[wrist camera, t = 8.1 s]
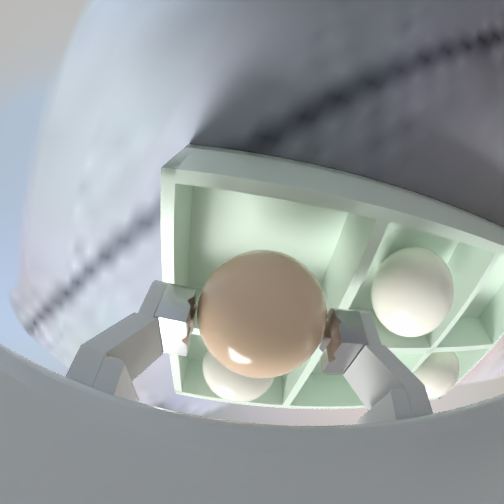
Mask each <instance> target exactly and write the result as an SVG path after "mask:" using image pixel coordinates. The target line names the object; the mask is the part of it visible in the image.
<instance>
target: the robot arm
mask: <svg viewBox="0 0 504 504" xmlns="http://www.w3.org/2000/svg"><path fill="white" fill-rule="evenodd" d="M196 300H197V288H192V287H187V286H183V285H178V284H173V283H167V282H162V281H158V280H155V281H154V282H153V283H152V284H151V286H150V288H149V291H148V293H147V295H146V297H145V299H144V301H143V303H142V305H141V308H140V310H139V312H138V313H132V314H131V315H129V316H127V317H126V318H124V319H123V320H121V321H119V322H118V323H116V324H114V325H113V326H111V327H110V328H108V329H106V330H105V331H103V332H102V333H100V334H98V335H97V336H95V337H94V338H92V339H90V340H89V341H87V342H86V343H84V344H82V345H81V346H80V348H79V350H78V352H77V354H76V356H75V358H74V360H73V362H72V364H71V366H70V369H69V371H68V373H67V375H66V377H65V376H62V375H60V374H58V373H56V372H53V371H51V370H49V369H47V368H45V367H43V366H40V365H38V364H36V363H34V362H32V361H30V360H28V359H27V358H24V357H23V356H21V355H19V354H17V353H15V352H13V351H11V350H10V349H8V348H7V347H5V346H3V345H1V344H0V504H504V394H501V395H498V396H496V397H493V398H490V399H487V400H484V401H481V402H478V403H474V404H471V405H467V406H464V407H460V408H456V409H452V410H448V411H444V412H439V413H435V414H433V412H432V408H431V405H430V402H429V398H428V395H427V391H426V388H425V385H424V384H423V383H422V382H421V381H420V380H419V379H418V378H417V377H416V376H415V375H414V374H413V373H412V372H411V371H410V370H409V369H408V368H407V367H406V366H405V365H404V364H403V363H402V362H401V361H400V360H399V359H398V358H397V357H396V356H395V355H394V354H393V353H392V352H391V351H390V350H389V349H388V348H387V347H386V346H384V345H382V344H381V341H380V338H379V335H378V332H377V329H376V326H375V323H374V320H373V317H372V314H371V313H370V312H369V311H361V310H357V311H356V310H349V309H339V308H331V309H330V310H329V312H328V314H327V319H328V320H327V324H326V328H325V332H324V335H323V338H322V340H321V342H320V344H319V349H320V350H321V351H322V352H323V354H322V355H321V357H320V361H321V368H322V373H333V374H343V376H344V377H345V379H346V380H347V381H348V383H349V384H350V386H351V387H352V389H353V390H354V391H355V393H356V394H357V396H358V397H359V398H360V400H361V401H362V403H363V404H364V406H365V407H366V408H367V410H368V412H367V413H365V414H364V415H363V416H362V417H361V418H360V419H359V420H358V421H357V423H358V424H355V425H340V426H339V425H338V426H288V425H269V424H268V425H267V424H256V423H245V422H236V421H229V420H220V419H214V418H208V417H202V416H196V415H191V414H186V413H181V412H176V411H172V410H167V409H163V408H159V407H155V406H151V405H147V404H143V403H139V402H138V400H139V398H138V396H137V393H136V391H135V389H134V386H133V384H132V381H133V380H134V379H135V378H136V377H137V376H138V375H139V374H141V373H142V372H143V371H144V370H145V369H146V368H147V367H148V366H150V365H151V364H152V363H153V362H154V361H155V360H156V359H157V358H158V357H160V356H161V355H162V354H163V352H165V353H170V354H176V355H181V356H187V354H188V350H189V346H190V342H191V333H192V332H193V330H194V326H195V321H196V314H197V305H196Z"/></svg>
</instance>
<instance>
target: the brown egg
mask: <svg viewBox="0 0 504 504" xmlns="http://www.w3.org/2000/svg"><path fill="white" fill-rule="evenodd" d="M197 322H198V328H199V332H200V335H201V338H202V340H203V342H204V344H205V346H206V348H207V349H208V351H209V352H210V353H211V355H212V356H213V357H214V358H215V359H216V360H217V361H218V362H219V363H220V364H222V365H223V366H224V367H226V368H227V369H229V370H231V371H233V372H235V373H237V374H240V375H243V376H246V377H251V378H272V377H277V376H281V375H284V374H287V373H289V372H291V371H293V370H295V369H296V368H298V367H300V366H301V365H302V364H304V363H305V362H306V361H307V360H308V359H309V358H310V357H311V356H312V355H313V353H314V352H315V351H316V349H317V348H318V346H319V344H320V342H321V340H322V338H323V335H324V332H325V328H326V324H327V304H326V299H325V295H324V292H323V290H322V287H321V285H320V283H319V282H318V280H317V278H316V277H315V276H314V275H313V273H312V272H311V271H310V270H309V269H308V268H307V267H306V266H305V265H304V264H303V263H301V262H300V261H298V260H297V259H295V258H293V257H291V256H289V255H287V254H284V253H281V252H277V251H272V250H253V251H247V252H243V253H240V254H238V255H236V256H233V257H231V258H230V259H228V260H226V261H225V262H223V263H222V264H221V265H220V266H219V267H218V268H216V269H215V270H214V271H213V273H212V274H211V275H210V276H209V278H208V279H207V281H206V283H205V284H204V286H203V289H202V291H201V294H200V297H199V301H198V307H197Z"/></svg>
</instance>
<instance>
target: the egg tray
mask: <svg viewBox="0 0 504 504" xmlns="http://www.w3.org/2000/svg"><path fill="white" fill-rule="evenodd" d="M407 247H422V248H425V249H429V250H431V251H433V252H434V253H436V254H437V255H438V256H440V257H441V258H442V259H443V260H444V262H445V263H446V264H447V266H448V267H449V269H450V271H451V274H452V277H453V282H454V299H453V303H452V306H451V309H450V311H449V313H448V315H447V317H446V318H445V320H444V321H443V322H442V323H441V324H440V325H439V326H438V327H437V328H436V329H434V330H433V331H431V332H430V333H427V334H425V335H422V336H418V337H404V336H400V335H397V334H395V333H393V332H391V331H389V330H388V329H387V328H386V327H385V326H384V325H383V324H382V323H381V322H380V321H379V319H378V318H377V316H376V314H375V312H374V309H373V306H372V301H371V287H372V282H373V279H374V276H375V273H376V271H377V270H378V268H379V266H380V265H381V263H382V262H383V261H384V260H385V259H386V258H387V257H388V256H390V255H391V254H393V253H394V252H396V251H398V250H400V249H403V248H407ZM253 250H272V251H277V252H281V253H284V254H287V255H289V256H291V257H293V258H295V259H297V260H298V261H300V262H301V263H303V264H304V265H305V266H306V267H307V268H308V269H309V270H310V271H311V272H312V273H313V275H314V276H315V277H316V278H317V280H318V282H319V283H320V285H321V287H322V290H323V292H324V295H325V299H326V304H327V314H328V312H329V310H330V309H331V308H339V309H349V310H356V311H357V310H361V311H369V312H370V313H371V314H372V317H373V320H374V323H375V326H376V329H377V332H378V335H379V338H380V341H381V344H382V345H384V346H386V347H387V348H388V349H389V350H390V351H391V352H392V353H393V354H394V355H395V356H396V357H397V358H398V359H399V360H400V361H401V362H402V363H403V364H404V365H405V366H406V367H407V368H408V369H409V370H410V371H411V372H412V373H413V372H414V371H415V370H416V369H417V368H418V367H419V366H420V365H421V364H422V363H423V362H424V360H425V359H426V358H427V357H428V356H429V355H430V354H431V353H434V352H453V351H454V352H455V353H456V355H457V357H458V359H459V364H460V372H459V376H458V379H457V381H456V383H455V385H456V384H457V383H458V382H460V381H461V380H462V379H463V378H464V377H465V376H466V375H467V374H468V373H469V372H470V371H471V370H472V369H473V368H474V367H475V366H476V365H477V364H478V363H479V362H480V361H481V360H482V359H483V358H484V357H485V355H486V354H487V353H488V352H489V351H490V350H491V349H492V348H493V347H494V345H495V344H496V343H497V342H498V341H499V340H500V338H501V337H502V336H503V335H504V227H502V226H499V225H497V224H495V223H493V222H491V221H488V220H486V219H484V218H482V217H479V216H477V215H474V214H472V213H470V212H467V211H465V210H462V209H460V208H457V207H455V206H452V205H449V204H447V203H444V202H441V201H439V200H436V199H433V198H430V197H427V196H425V195H422V194H419V193H416V192H413V191H410V190H407V189H404V188H400V187H397V186H394V185H391V184H387V183H384V182H381V181H377V180H374V179H370V178H367V177H363V176H359V175H356V174H352V173H348V172H344V171H340V170H336V169H332V168H328V167H323V166H319V165H315V164H310V163H305V162H301V161H296V160H291V159H286V158H280V157H275V156H270V155H264V154H258V153H252V152H246V151H239V150H232V149H225V148H218V147H210V146H201V145H192V144H188V145H187V146H186V147H185V148H184V149H182V150H181V151H180V152H179V153H178V154H176V155H175V156H174V157H173V158H172V159H171V160H170V161H168V162H167V163H166V164H165V165H164V166H163V167H162V168H161V254H162V275H163V282H167V283H173V284H178V285H183V286H187V287H192V288H197V300H196V305H197V307H198V301H199V297H200V294H201V291H202V289H203V286H204V284H205V283H206V281H207V279H208V278H209V276H210V275H211V274H212V273H213V271H214V270H215V269H216V268H218V267H219V266H220V265H221V264H222V263H223V262H225V261H226V260H228V259H230V258H231V257H233V256H236V255H238V254H240V253H243V252H247V251H253ZM327 320H328V319H327ZM206 351H207V348H206V346H205V344H204V342H203V340H202V338H201V335H200V332H199V328H198V322H197V314H196V321H195V326H194V330H193V332H192V333H191V342H190V346H189V350H188V354H187V356H181V355H176V354H170V361H171V368H172V375H173V382H174V389H175V393H176V394H181V395H186V396H191V397H197V398H202V399H208V400H215V401H221V402H228V403H236V404H245V405H254V406H266V407H278V408H299V409H350V408H366V407H365V406H364V404H363V403H362V401H361V400H360V398H359V397H358V396H357V394H356V393H355V391H354V390H353V389H352V387H351V386H350V384H349V383H348V381H347V380H346V379H345V377H344V376H343V374H333V373H322V368H321V361H320V357H321V355H322V354H323V352H322V351H321V350H320V349H319V346H318V348H317V349H316V351H315V352H314V353H313V355H312V356H311V357H310V358H309V359H308V360H307V361H306V362H305V363H304V364H302V365H301V366H300V367H298V368H296V369H295V370H293V371H291V372H289V373H287V374H284V375H281V376H277V377H275V378H274V381H273V383H272V385H271V386H270V388H269V389H268V390H267V391H266V392H265V393H264V394H263V395H262V396H260V397H258V398H256V399H254V400H251V401H248V402H232V401H228V400H225V399H223V398H221V397H219V396H218V395H217V394H215V393H214V392H213V391H212V390H211V389H210V387H209V386H208V384H207V383H206V381H205V378H204V375H203V367H202V365H203V358H204V355H205V353H206ZM455 385H454V386H455ZM454 386H453V387H454ZM443 396H444V395H443ZM443 396H441V397H443ZM441 397H439V398H435V399H440V398H441ZM435 399H429V400H435Z"/></svg>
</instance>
